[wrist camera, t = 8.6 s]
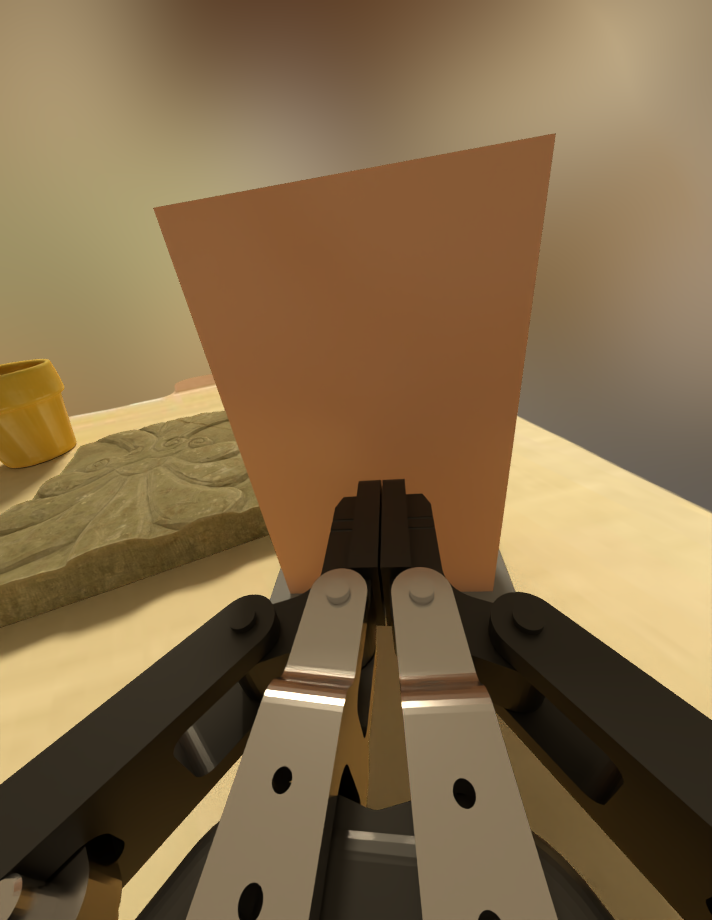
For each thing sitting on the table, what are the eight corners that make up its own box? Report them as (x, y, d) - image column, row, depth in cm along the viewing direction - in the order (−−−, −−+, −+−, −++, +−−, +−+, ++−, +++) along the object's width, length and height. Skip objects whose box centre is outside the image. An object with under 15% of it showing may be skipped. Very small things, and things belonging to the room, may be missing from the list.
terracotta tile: (290, 593, 17) (153, 207, 9) (303, 548, 20) (207, 219, 11) (492, 591, 16) (555, 133, 7) (477, 543, 18) (511, 166, 10)
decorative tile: (256, 427, 39) (247, 398, 37) (292, 532, 22) (279, 490, 20) (76, 474, 34) (55, 444, 32) (-49, 654, 17) (-106, 614, 16)
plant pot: (115, 431, 42) (71, 353, 37) (39, 476, 33) (-31, 383, 28) (49, 435, 44) (-1, 362, 39) (-39, 479, 35) (-118, 392, 30)
